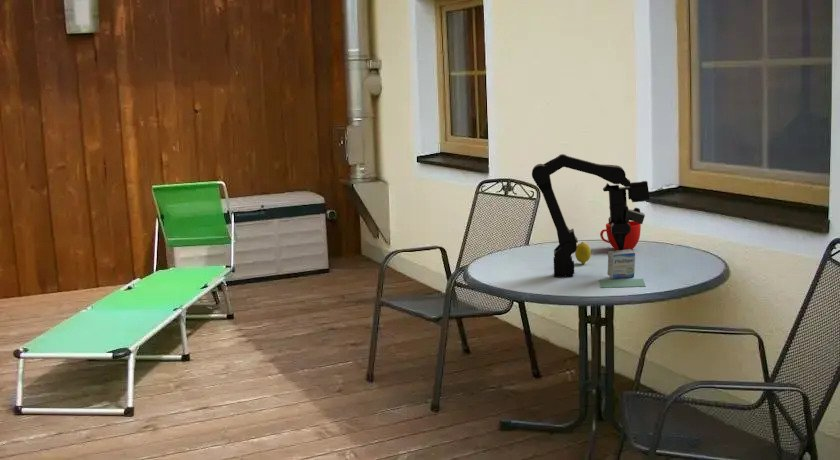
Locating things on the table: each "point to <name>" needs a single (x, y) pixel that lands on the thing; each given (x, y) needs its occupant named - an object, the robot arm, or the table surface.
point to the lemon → (582, 252)
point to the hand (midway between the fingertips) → (620, 248)
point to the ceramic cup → (630, 238)
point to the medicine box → (621, 264)
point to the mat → (622, 283)
